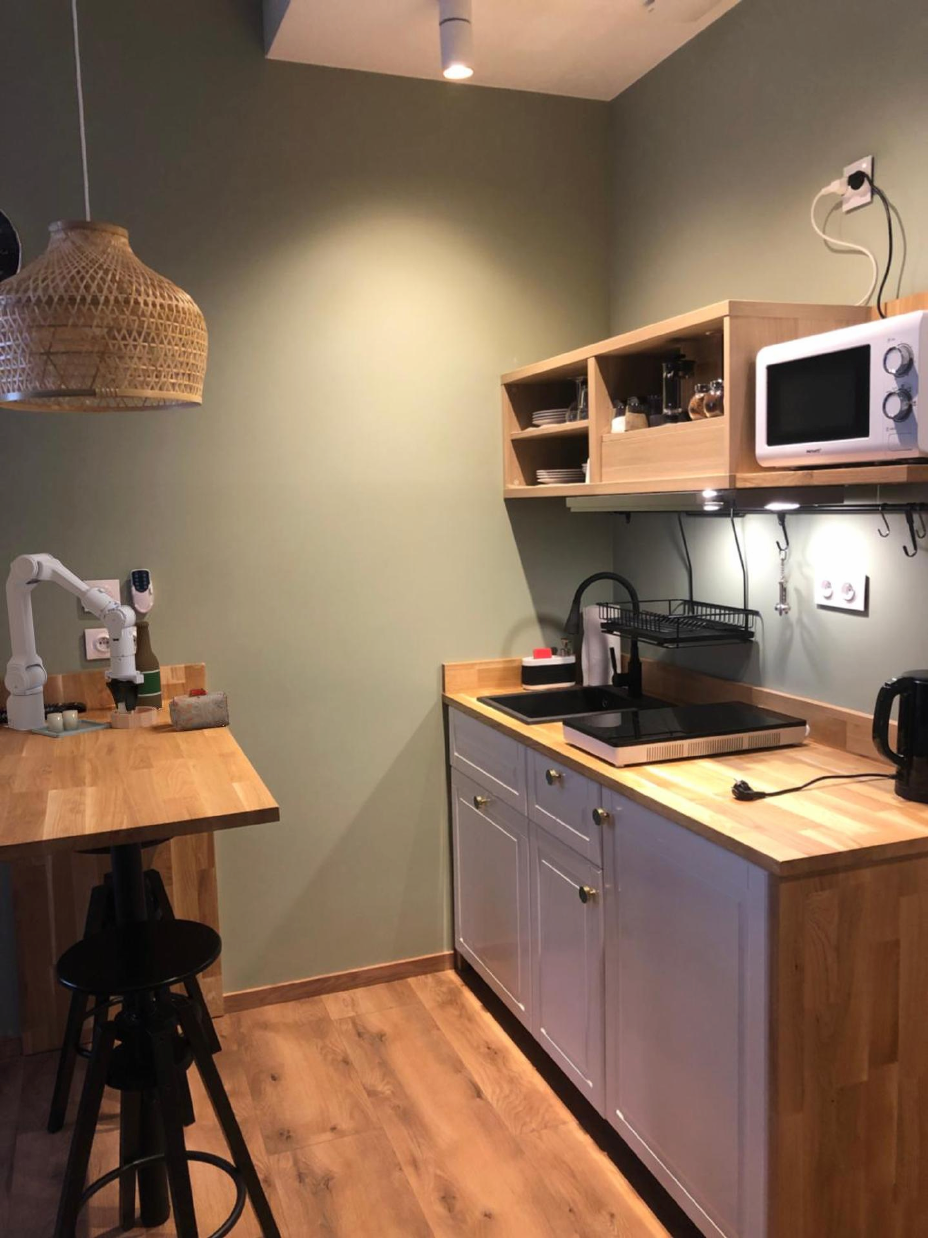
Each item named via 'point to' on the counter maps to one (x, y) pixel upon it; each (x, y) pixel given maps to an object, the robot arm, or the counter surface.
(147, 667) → the beer bottle
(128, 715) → the bowl
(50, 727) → the white cylinder
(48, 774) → the counter surface
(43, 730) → the tray
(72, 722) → the glossy cream rounded cylinder
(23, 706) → the robot arm
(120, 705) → the cream white cylinder
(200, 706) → the weathered grey box
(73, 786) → the counter surface
